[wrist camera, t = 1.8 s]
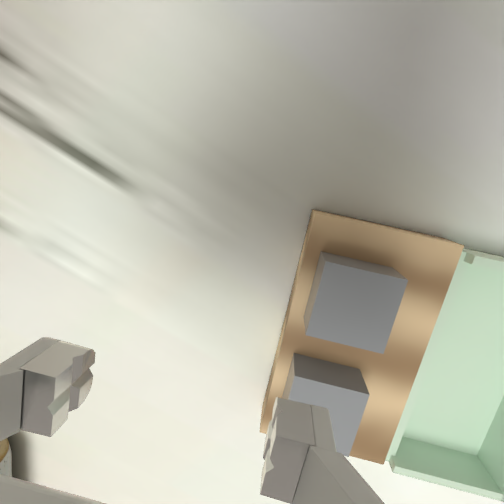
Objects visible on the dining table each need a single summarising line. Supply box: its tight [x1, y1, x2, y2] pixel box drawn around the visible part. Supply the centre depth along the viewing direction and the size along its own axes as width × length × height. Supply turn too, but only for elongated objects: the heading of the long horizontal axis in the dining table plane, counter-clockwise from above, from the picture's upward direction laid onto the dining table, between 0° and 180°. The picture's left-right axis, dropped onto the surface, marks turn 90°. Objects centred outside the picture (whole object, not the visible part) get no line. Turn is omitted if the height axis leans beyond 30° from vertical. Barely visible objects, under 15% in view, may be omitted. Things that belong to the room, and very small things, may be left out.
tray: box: [385, 248, 504, 502], centre depth 24 cm, size 17×9×4 cm, turn 168°
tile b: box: [282, 353, 370, 457], centre depth 23 cm, size 5×5×3 cm
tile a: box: [303, 251, 408, 354], centre depth 22 cm, size 5×5×3 cm
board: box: [260, 209, 464, 464], centre depth 25 cm, size 18×10×3 cm, turn 168°
